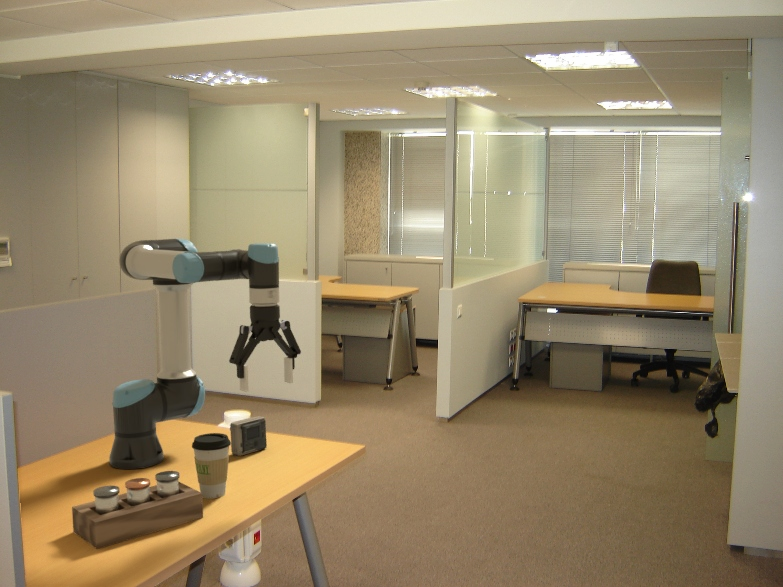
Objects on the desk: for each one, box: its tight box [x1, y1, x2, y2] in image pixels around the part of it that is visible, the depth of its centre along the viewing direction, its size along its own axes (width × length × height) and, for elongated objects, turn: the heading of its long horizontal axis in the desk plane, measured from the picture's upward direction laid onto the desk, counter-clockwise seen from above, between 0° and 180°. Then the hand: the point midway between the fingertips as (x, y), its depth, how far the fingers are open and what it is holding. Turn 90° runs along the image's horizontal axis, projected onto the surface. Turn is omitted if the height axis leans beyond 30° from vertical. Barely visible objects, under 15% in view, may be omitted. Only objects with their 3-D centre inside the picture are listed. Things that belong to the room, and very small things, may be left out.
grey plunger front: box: [92, 485, 120, 515], centre depth 184 cm, size 6×6×7 cm
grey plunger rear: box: [154, 470, 180, 498], centre depth 194 cm, size 6×6×7 cm
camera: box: [229, 415, 268, 457], centre depth 245 cm, size 11×6×10 cm, turn 136°
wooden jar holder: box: [71, 480, 204, 550], centre depth 189 cm, size 13×26×6 cm, turn 133°
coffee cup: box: [191, 432, 231, 499], centre depth 209 cm, size 10×10×15 cm
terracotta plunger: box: [124, 477, 151, 506], centre depth 189 cm, size 6×6×7 cm
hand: (266, 386), depth 207 cm, fingers open, 13 cm apart
